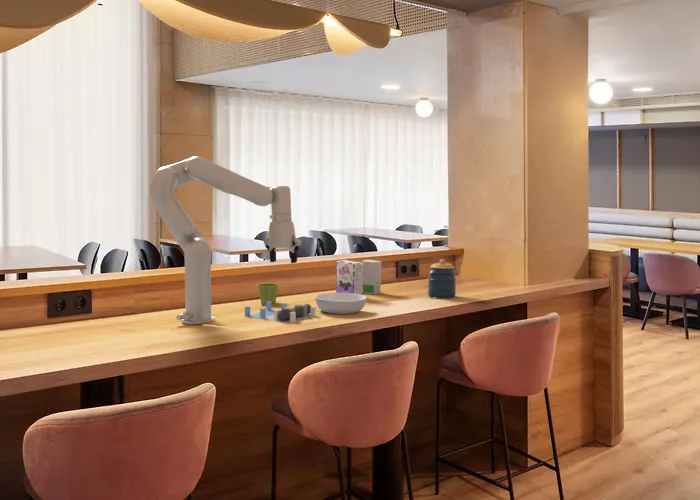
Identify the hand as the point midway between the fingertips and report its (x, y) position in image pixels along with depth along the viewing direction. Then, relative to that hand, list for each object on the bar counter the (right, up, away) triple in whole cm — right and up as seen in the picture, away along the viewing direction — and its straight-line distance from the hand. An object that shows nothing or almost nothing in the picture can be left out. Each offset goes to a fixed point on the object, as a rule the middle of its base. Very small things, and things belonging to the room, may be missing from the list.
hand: (283, 262), depth 268 cm
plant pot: (-10, -19, +31) cm, 37 cm away
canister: (+69, -17, +56) cm, 90 cm away
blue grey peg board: (-1, -22, +1) cm, 22 cm away
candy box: (+25, -17, +54) cm, 62 cm away
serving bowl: (+22, -21, +13) cm, 33 cm away
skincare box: (+36, -16, +65) cm, 76 cm away
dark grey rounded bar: (+5, -21, -2) cm, 22 cm away
